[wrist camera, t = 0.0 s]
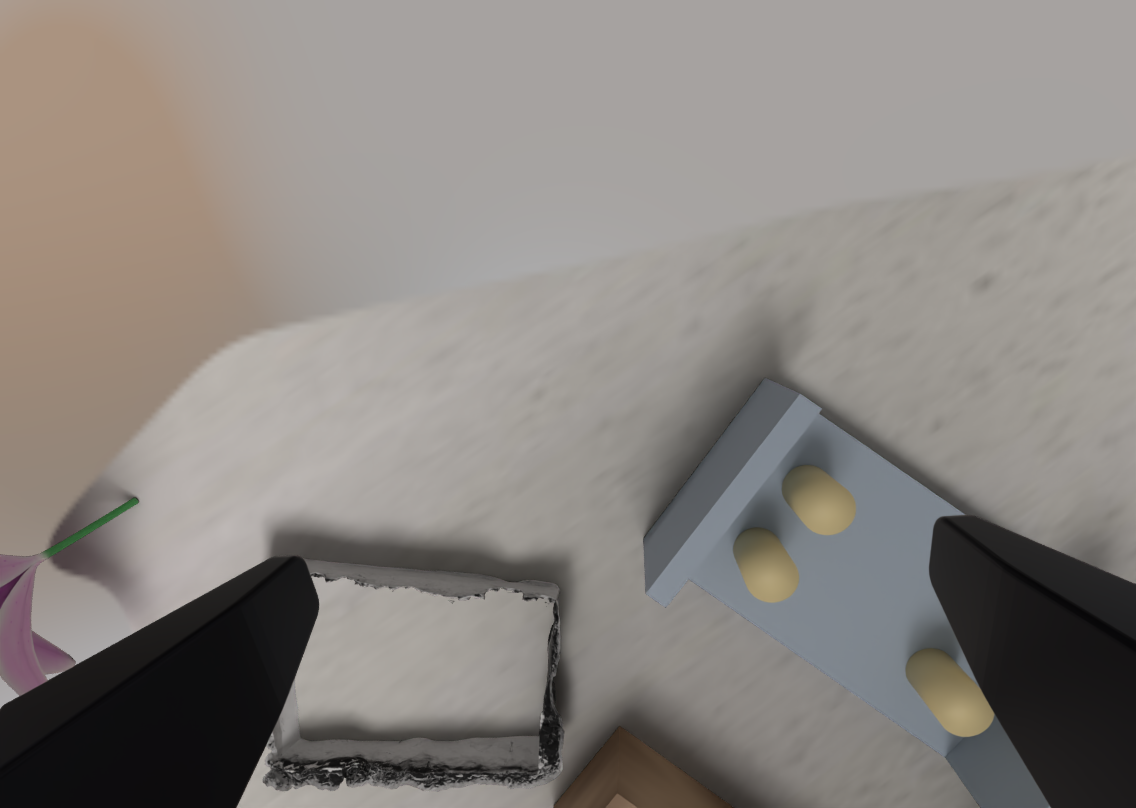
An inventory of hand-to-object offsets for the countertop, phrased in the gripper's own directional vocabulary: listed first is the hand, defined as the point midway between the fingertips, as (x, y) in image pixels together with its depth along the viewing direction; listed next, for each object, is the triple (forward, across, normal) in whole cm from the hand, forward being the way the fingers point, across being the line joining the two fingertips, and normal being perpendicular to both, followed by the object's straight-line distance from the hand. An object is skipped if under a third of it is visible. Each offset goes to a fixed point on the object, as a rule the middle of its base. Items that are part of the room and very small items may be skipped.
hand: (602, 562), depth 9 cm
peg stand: (+13, -9, +11) cm, 19 cm away
